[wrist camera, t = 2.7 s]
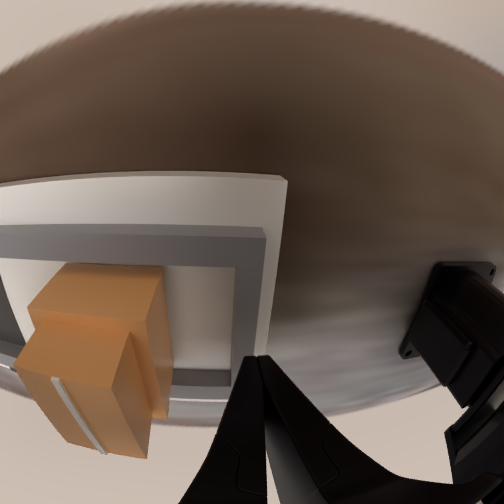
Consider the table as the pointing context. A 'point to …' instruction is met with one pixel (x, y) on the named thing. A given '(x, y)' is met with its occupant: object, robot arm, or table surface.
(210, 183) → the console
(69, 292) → the fader knob
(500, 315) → the robot arm
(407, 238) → the table surface
